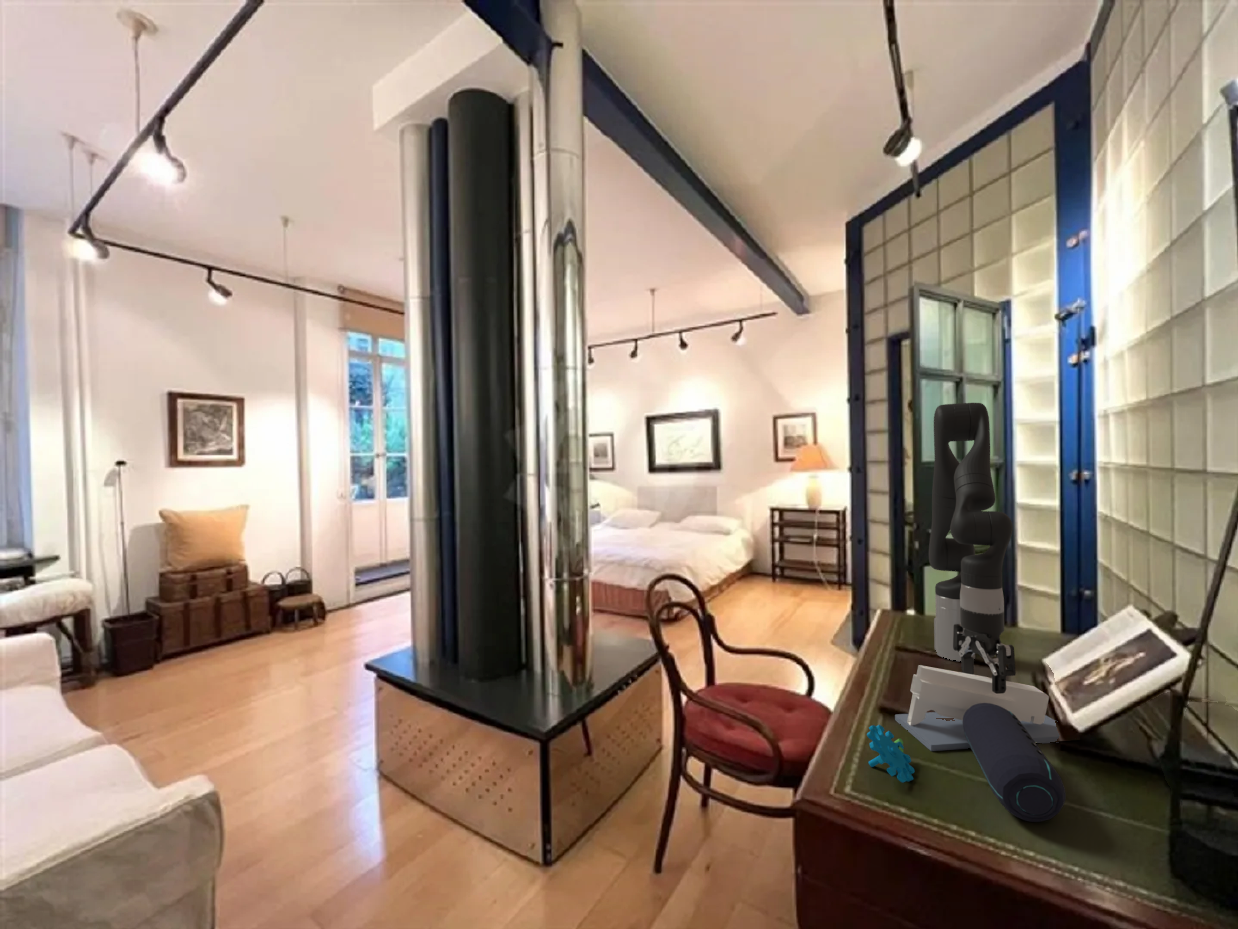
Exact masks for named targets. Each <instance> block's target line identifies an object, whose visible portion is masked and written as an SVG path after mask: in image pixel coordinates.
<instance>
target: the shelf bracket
mask: <svg viewBox="0 0 1238 929" xmlns="http://www.w3.org/2000/svg"><path fill="white" fill-rule="evenodd" d="M910 692H911V693H912V696H911V701H910V707H909V710H908V714H909V715H908V720H907V722H908V723H909V725H910V726H912V725H916V724H918V723H920V722H921V721H923V720H924V719H925V714H926V713H928V712H929V711H933V712H936V713H938V714H939V715H941V716H946V717H950V718H954V719H959V720H963V716H964V713H965V712H966V711H967V709H969V708H970V707H971V706H973V705H975V704H979V703H991V704H995V705H998V706H1001V707H1003V708H1004V709H1006V710H1008V711H1010V712H1011V713H1013V714H1014V715H1015V716H1016V717H1017V718H1018V720H1019V721H1026V722H1030V721H1031V722H1033V723H1036V724H1042V723H1043V722H1044V719H1045V715H1047V714H1046V713H1047V710H1048V709H1047V708H1048V705H1049V704H1048V703H1049V700H1050V696H1049V695H1048V694H1047V693H1046V692H1043V691H1042V690H1040V689H1039V688H1038V687H1036V686H1034V685H1029V684H1024V683H1019V682H1015V681H1014V682H1013V681H1008V680H1006V691H1005V693H1001V694H996V693H994V692H993V691H992V677H987V676H984V675H977V674H973V675H972V674H967V673H962V671H954V670H950V669H943V668H937V667H931V666H926V665H922V664H920V665H919V664H918V665H917V670H916V674H914V673H913V676H912V679H911V685H910Z"/></svg>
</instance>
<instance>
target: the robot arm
mask: <svg viewBox="0 0 1238 929" xmlns="http://www.w3.org/2000/svg"><path fill="white" fill-rule="evenodd" d="M933 415H934V416H933V446H934V447H933V448H934V452H933V453H934V465H933V467H934V468H933V478H932V489H931V490H932V492H931V494H932V496H931V497H932V498H931V512H932V513H931V514H932V516H931V518H932V519H931V528H930V535H929V545H928V562H929V565H930V567H931V568H932V569H934V570H936V571H943V572H959V573H958V574H957V575H956V576H955V577H952V578H950V579H949V578H948V579H947V580H941V581H939V582H937V583H936V584H935V587H934V590H935V592H934V594H935V597H934V598H935V617H934V618H933V627H934V628H933V634H934V635H933V636H934V637H933V638H934V651H935V650H936V651H935V652H937V653H936V655H937V656H939V657H941V658H943V657H944V658H943V659H945V658H947V659H946V660H949V659H950V661H953V660H956V661H955V662H960V661H961V664H960V665H961V667H960V668H961V673H967V674H972V675H975V663H974V662H975V660H976V654H977V655H979V656H980V657H981V658H983V660H984V663H985V664H986V665H988V666H989V668H990V671H991V673H992V674H991V678H992V691H993V692H994V693H996V694H1001V693H1005V691H1006V681H1007V677H1013V676H1016V675H1017V674H1016V673H1017V672H1016V657H1015V647H1014V646H1013V645H1012V644H1005V643H1002V641H1001V638H1000V637H1001V634H1003V633H1004V631H1005V599H1004V597H1005V596H1004V592H1003V564H1004V559H1005V556H1006V551H1007V549H1008V546H1009V543H1010V541H1011V538H1012V535H1013V529H1014V527H1013V526H1014V525H1013V522H1012V520H1011V518H1010V517H1009V516H1008V515H1007V514H1006V513H1005V512H1002V511H998V510H997V511H996V510H990V511H989V510H988V509H991V508H992V507H993V506H994V505H995V503H996V492H995V489H994V488H995V487H994V483H993V477H992V472H991V433H990V432H991V428H990V427H991V426H990V417H989V412H988V408H987V407H986V406H985V404H984V403H982V402H961V403H960V402H959V403H946V404H945V403H944V404H940V405H937V407H936V408H935V410H934V414H933ZM967 441H968V442H973V445H972V446H971V448H970V449H969V451H968V453H966V455H965V456H964V457H963V458H962V460H961V461H959V460H958V459H957V458H956V456H955V454H954V452H953V451H952V449H951V446H950V442H967ZM949 533H950V536H951V537H947V536H948V534H949ZM975 546H989V547H988V549H987V550H986V551H985V552H982V553H978V554H976V551H975ZM995 656H996V657H995ZM994 657H995V658H994ZM974 659H975V660H974ZM996 664H997V665H996ZM997 666H998V667H997Z"/></svg>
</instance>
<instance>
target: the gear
mask: <svg viewBox="0 0 1238 929" xmlns="http://www.w3.org/2000/svg"><path fill="white" fill-rule="evenodd" d="M868 729H869V731H868V732H867V733H866V737H867V738H868V739H869V740H870V741H871V742H869V747H870V750H871V751H875V752H877V753H878V754H879V755H878V756H875V757H874V758H873V759H871V760H868V761H867V762H868V765H869V766H870V767H871V768H874V767H875V766H877V765H883V764H885V763H886V764H887V765H888V766H889V767H887V768H886V771H887V773H888V774H889V775H890V776H891V777H893V776H896V778H897V781H899V782H900V783H902V784H903V783H905V782H911V781H913V780H914V776H913V775H912V774H914V773H915V768H914V767H913V766H912V765H910V764H911V762H912V759H911V758H912V757H911V756H910V755H909V754H907V753H905V752H904V749H905V747H904V740H903V739H902V738H901V737H900V738H897V739H896V740H895V741H893V740H892V739H894V738H895V735H894V734H893V733H892V732H891V731H890V730H888V731H886V732H885V728H884V727H883V726H882V725H881V724H878V725H875V724H873V725H870V726H868ZM884 732H885V733H884Z"/></svg>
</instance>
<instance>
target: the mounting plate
mask: <svg viewBox="0 0 1238 929" xmlns="http://www.w3.org/2000/svg"><path fill="white" fill-rule="evenodd" d="M908 715H909V713H899V714H895V715H894V720H895V721H896V722H897V723H898V724H899V725H900V724H901V725H900V726H901V727H902V728H904V730H906V731H907V730H908V731H907V732H908V733H910V735H912V736H913V737H915V739H916V740H918V742H920V743H921V744H922V745H924V747H926V749H928V750H929V751H930V752H937V751H938V752H939V751H950V750H951V751H952V750H969V749H968V748H970V749H971V747H970V745H969V743H968V741H967V739H966V737H965V733H964V729H963V720H959V719H953V720H955V721H952V720H950V721H946V720H945V719H944V720H942V719H936V718H950V717H946V716H941V715H939V714H938V713H936V712H935V711H931V712H929V711H927V712H926V714H925V719H924V720H923V721H921V722H920V723H918V724H916V725H912V726H910V725H909V723H908V722H907V720H908ZM1055 721H1056V720H1055V719H1053V717H1052V718H1051V717H1050V716H1048V715H1047V714H1045V719H1044V722H1043V723H1042V724H1036V723H1033V722H1031V721H1030V722H1026V721H1020V722H1021V723H1022V725H1023V726H1024V727H1025V729H1026V730H1027V732H1028V733H1029V734H1030V736H1031V737H1032V739H1033V740H1034V741H1035V742H1037V743H1042V744H1051V743H1050V742H1055V741H1057V739H1058V738H1059V736H1060V735H1059V733H1058V731H1057V727H1056V723H1055Z"/></svg>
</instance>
